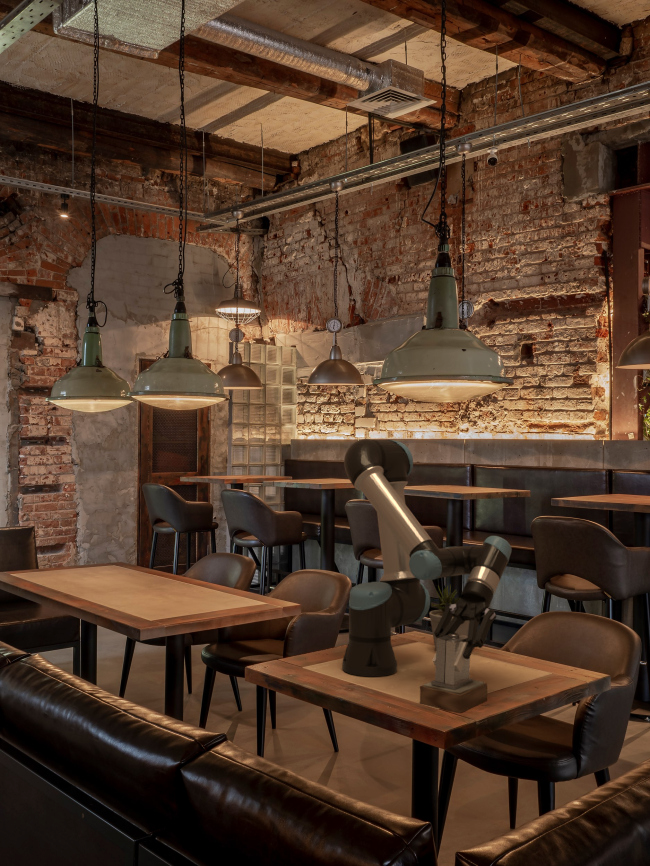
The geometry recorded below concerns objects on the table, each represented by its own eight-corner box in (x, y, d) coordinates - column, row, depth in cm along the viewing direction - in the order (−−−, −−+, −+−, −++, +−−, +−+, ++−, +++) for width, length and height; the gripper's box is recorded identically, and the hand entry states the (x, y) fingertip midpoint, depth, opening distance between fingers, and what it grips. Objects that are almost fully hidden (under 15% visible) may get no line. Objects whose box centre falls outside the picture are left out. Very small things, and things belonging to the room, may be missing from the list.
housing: (431, 684, 191) (433, 635, 191) (449, 676, 198) (451, 628, 198) (455, 690, 187) (457, 640, 187) (472, 681, 194) (474, 633, 194)
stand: (420, 703, 191) (420, 684, 191) (447, 691, 201) (447, 673, 201) (460, 713, 184) (460, 693, 184) (487, 700, 194) (487, 682, 194)
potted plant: (481, 651, 244) (481, 585, 244) (454, 659, 234) (454, 590, 235) (447, 644, 253) (448, 580, 253) (420, 651, 243) (421, 585, 244)
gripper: (517, 602, 199) (485, 682, 186) (453, 594, 211) (419, 668, 198) (508, 583, 195) (474, 663, 182) (443, 576, 207) (408, 651, 194)
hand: (446, 666), depth 190 cm, fingers closed on housing, 5 cm apart
